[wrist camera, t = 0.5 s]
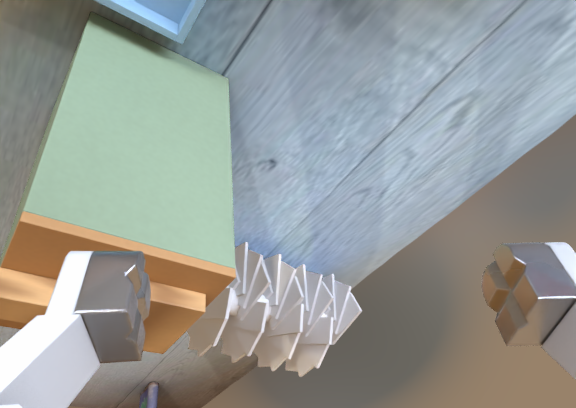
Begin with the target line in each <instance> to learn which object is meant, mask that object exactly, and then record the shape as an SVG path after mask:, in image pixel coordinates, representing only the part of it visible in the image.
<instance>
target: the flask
mask: <svg viewBox="0 0 576 408" xmlns="http://www.w3.org/2000/svg"><path fill="white" fill-rule="evenodd" d="M158 388H159V384H158V383H157V382H151V383H149V384H148V386H147V387H146V388H145V390H144V391H143V392H142V393H141V394H140V404H139V408H157V398H158Z"/></svg>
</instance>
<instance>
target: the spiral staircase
mask: <svg viewBox="0 0 576 408" xmlns="http://www.w3.org/2000/svg"><path fill="white" fill-rule="evenodd" d="M235 267H236V268H235V269H236V278H235V279H234V280H233V281H232V282H231V283H230V284H229V285H228V286H227V287H226V288H225V289H224V290H223V291H222V292H221V293H220V294H219V295H218V296H217V297H216V298H215V299H214V300H213V301H212V302H211V303H210V304H209V305H208V306H207V307H206V311H205V313H204V314H203V315H202V316H201V317H200V318H199V319H198V320H197V321H196V322H195V323H194V324H193V325H192V326H191V327H190V328H189V329H188V330H187V332H188V334H189V336H190V341H189V347H188V349H192V350H198V356H202V355H203V354H204V353H205V352H206V351H207V350H208V349H209V348H210V347H212V346H216V345H217V343H218V340H219V338H220V337H221V339H222V341H223V346H222V351H221V353H223V354H226V355H230V356H231V358H232V363H235V362H237V361H238V360H239V359H241V358H242V357H243V356H245V355H247V356H251V354H252V352H254V353H255V354H256V355H257V357H258V367H271V370H272V371H275V370H276V369H277V368H278V367H279V366H280V365H281V364H282V363H283V362H284V361H286V367H285V370H289V371H298V373H299V376H300V377H302V376H303V375H304V374H306V373H307V372H309V371H310V370H311V369H312V368H314V367H316V368H319V367H320V365H321V362H322V360H323V358H324V356H325V354H326V351H327V349H328V347H329V344H335V343H336V341H337V340H338V339H339V338H340V337H341V335H342V334H343V333H344V332H345V331H346V330H347V328H348V327H349V326H350V325H351V324H352V323H353V321H354V320H355V319H356V318H357V317H358V315H359V314H360V313H361V312H362V310H361V308H360V306H359V305H358V303H357V301H356V300H355V298H354V296H353V294H352V293H350V290H351V286H348V285H346V284H343V283H341V282H338V281H335V280H334V274H331V275H328V276H326V277H324V278H322V276H323V275H321V274H317V273H313V272H309V271H306V269H305V265H304V264H303V265H301V266H299V267H297V268H296V269H295V268H293V267H291V266H290V265H288V264H287V263H285V262H283V261H281V254H277V255H274V256H272V257H269V258H266V259H263V255H260V254H258V253H256V252H254V251H252V250H249V249H248V243H247V242H245V243H243V244H241V245H239V246H237V247H236V248H235Z"/></svg>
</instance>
